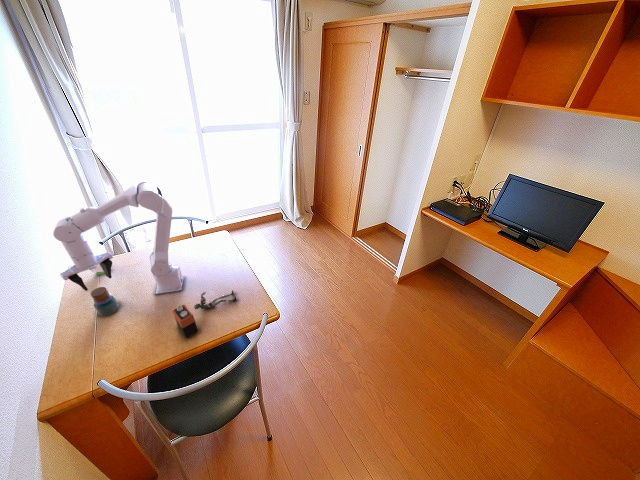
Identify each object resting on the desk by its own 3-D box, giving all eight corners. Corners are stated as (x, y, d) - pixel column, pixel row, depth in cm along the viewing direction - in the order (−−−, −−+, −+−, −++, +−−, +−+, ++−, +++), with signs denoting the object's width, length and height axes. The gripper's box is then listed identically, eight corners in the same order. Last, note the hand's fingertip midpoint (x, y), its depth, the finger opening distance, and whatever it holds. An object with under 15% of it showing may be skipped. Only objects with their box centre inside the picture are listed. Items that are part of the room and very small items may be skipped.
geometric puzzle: (87, 266, 115) (84, 259, 109) (106, 259, 119) (104, 252, 113) (96, 279, 114) (93, 273, 108) (114, 272, 118) (112, 266, 112)
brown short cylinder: (111, 292, 98) (108, 285, 96) (107, 301, 94) (103, 294, 93) (97, 294, 97) (93, 287, 95) (92, 303, 93) (88, 297, 91)
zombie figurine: (234, 289, 101) (193, 304, 95) (237, 301, 105) (197, 316, 99) (230, 280, 105) (190, 294, 98) (232, 292, 109) (194, 306, 102)
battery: (186, 339, 90) (179, 320, 85) (178, 327, 94) (170, 308, 88) (198, 331, 93) (192, 312, 87) (190, 320, 97) (183, 301, 91)
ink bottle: (121, 301, 102) (115, 290, 99) (115, 314, 97) (109, 302, 94) (101, 304, 101) (94, 293, 97) (95, 317, 95) (87, 305, 92)
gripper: (60, 269, 81) (80, 300, 89) (111, 246, 92) (125, 275, 99) (49, 261, 84) (69, 291, 91) (100, 240, 94) (114, 269, 102)
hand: (97, 283), depth 95 cm, fingers open, 7 cm apart
